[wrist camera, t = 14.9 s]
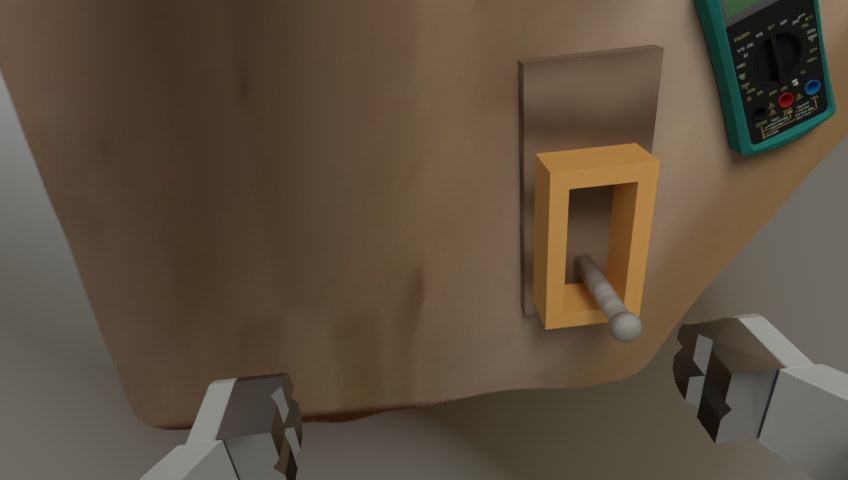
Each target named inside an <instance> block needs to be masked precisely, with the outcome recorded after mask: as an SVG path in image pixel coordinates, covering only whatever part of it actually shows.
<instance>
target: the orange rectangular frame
mask: <svg viewBox="0 0 848 480" xmlns="http://www.w3.org/2000/svg"><path fill="white" fill-rule="evenodd" d="M659 167H660V160H658V159H657V158H656V157H654V156H653V155H652V154H650V153H649V152H648V151H646V150H645V149H643V148H642V147H641V146H639V145H638V144H637V143H631V144H622V145H613V146H603V147H594V148H585V149H576V150H566V151H557V152H548V153H539V154H535V215H534V275H533V302H534V305H535V307H536V309H537V312H538V314H539V316H540V318H541V321H542V323H543V325H544V327H545V330H546V329H555V328H563V327H572V326H581V325H589V324H598V323H606V322H608V320H607V318H606V317H605V315H604V314H603V312H602V310H601V309H600V307H599V306H598V304H597V302H596V301H595V299H594V298H593V296H592V294H591V293H590V291H589V290H588V288H587V286H586V285H585V283H577V284H568V285H564V284H565V264H566V245H567V225H568V205H569V189H576V188H585V187H594V186H603V185H612V184H614V193H613V203H612V214H611V225H610V235H609V246H608V256H607V267H606V277H605V278H606V280H607V281H608V282H609V284H610V285H611V287H612V288H613V290H614V291H615V293H616V294H617V295H618V297H619V298H620V300H621V301H622V303H623V304H624V305H625V307H626V308H627V310H628V311H629V312H631V313H633V314H635V315H636V316H637V317H638V318H639V313H640V306H641V299H642V291H643V284H644V277H645V269H646V262H647V255H648V247H649V240H650V233H651V225H652V218H653V211H654V204H655V196H656V189H657V182H658V174H659Z"/></svg>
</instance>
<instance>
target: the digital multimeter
mask: <svg viewBox="0 0 848 480" xmlns="http://www.w3.org/2000/svg"><path fill="white" fill-rule="evenodd" d="M694 1H695V4H696V8H697V11H698V14H699V18H700V21H701V24H702V27H703V31H704V34H705V37H706V41H707V45H708V49H709V52H710V56H711V60H712V64H713V68H714V72H715V76H716V79H717V84H718V89H719V94H720V99H721V104H722V109H723V114H724V119H725V125H726V130H727V136H728V142H729V147H730V148H731V149H732V150H734V151H736V152H738V153H739V154H741V155H743V156H750V155H754V154H758V153H762V152H766V151H769V150H772V149H775V148H778V147H781V146H783V145H785V144H788V143H790V142H792V141H794V140H796V139H798V138H800V137H801V136H803V135H804V134H806V133H808V132H809V131H811V130H812V129H814V128H815V127H817V126H818V125H820V124H821V123H823V122H824V121H825V120H827V119H828V118H830V117H831V116H832V115H833V114H834V113H835V110H836V107H835V102H834V97H833V92H832V87H831V83H830V78H829V72H828V66H827V60H826V54H825V49H824V43H823V37H822V28H821V20H820V11H819V3H818V0H694ZM726 31H727V33H726ZM797 33H798V34H797ZM727 36H728V37H727ZM800 36H801V37H800ZM728 40H729V42H728ZM729 45H730V46H729ZM730 50H731V51H730ZM804 50H805V51H804ZM731 54H732V55H731ZM732 59H733V60H732ZM733 63H734V65H733ZM734 68H735V69H734ZM735 72H736V74H735ZM736 77H737V78H736ZM737 81H738V83H737ZM758 83H759V84H758ZM738 86H739V87H738ZM739 90H740V92H739ZM740 95H741V96H740ZM741 99H742V101H741ZM745 117H746V119H745ZM746 122H747V123H746ZM747 126H748V128H747ZM748 131H749V132H748ZM749 135H750V136H749ZM750 140H751V141H750Z"/></svg>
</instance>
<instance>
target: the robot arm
mask: <svg viewBox="0 0 848 480" xmlns="http://www.w3.org/2000/svg"><path fill="white" fill-rule="evenodd" d="M677 340H678V341H679V342H680V344H681V345H682V346H683V347H682V348H681V349H680V350H679V351H678V352H677V353H676V354H675V356H674V362H673V373H674V379H675V383H676V385H677V387H678V390H679V392H680V393H681V395H682V396H683V398H684V399H685V401H687V402H689V403H690V404H692V405H694V406H696V407H698V408H699V409H698V415H697V418H698V420H699V421H700V423H701V424H702V426H703V427H704V428H705V430H706V431H707V433H708V434H709V436H710V437H711V439H712V440H713V441H714V443H715V444H718V443H728V442H738V441H747V440H758V439H759V441H758V442H760V443H761V444H763V445H764V446H766V447H767V448H769V449H770V450H772V451H773V452H774V453H776V454H777V455H779V456H780V457H782V458H784V459H785V460H786V461H788V462H789V463H791V464H792V465H794V466H795V467H797V468H798V469H800V470H801V471H803V472H804V473H806V474H807V475H809V476H810V477H812V478H813V479H815V480H848V374H845V373H843V372H840V371H838V370H836V369H833V368H831V367H828V366H826V365H823V364H819V365H814V364H813V363H812V362H811V361H810V360H809V359H808V358H807V357H806V356H805V355H803V354H802V353H801V352H800V351H799V350H798V349H797V348H796V347H795V346H794V345H793V344H792V343H791V342H790V341H788V340H787V339H786V338H785V337H784V336H783V335H782V334H781V333H780V332H779V331H778V330H777V329H776V328H775V327H774V326H772V325H771V324H770V323H769V322H768V321H767V320H766V319H765V318H764V317H763V316H761V315H759V314H756V313H753V314H746V315H740V316H732V317H730V318H721V319H713V320H706V321H698V322H691V323H683V324H682V325H681V327H680V328H679V331H678V337H677ZM292 393H293V384H292V381H291V378H290V375H289V374H287V373H279V374H269V375H259V376H249V377H239V378H234V379H224V380H214V381H213V382H212V383H211V384H210V385H209V387H208V389H207V392H206V394H205V397H204V399H203V402H202V404H201V407H200V409H199V412H198V414H197V417H196V419H195V422H194V424H193V427H192V429H191V432H190V434H189V437H188V439H187V442H186V444H185V445H178V446H177V447H176V448H174V449H173V450H172V451H171V452H170V453H169V454H168V455H167V456H165V457H164V458H163V459H162V460H161V461H160V462H159V463H158V464H156V465H155V466H154V467H153V468H152V469H151V470H149V471H148V472H147V473H146V474H145V475H144V476H143V477H142V478H140V479H139V480H296V475H297V465H296V462H295V459H294V456H295V455H296V454H297V453H298V452H299V451H300V450H301V442H302V418H301V411H300V408H299V404H298V402H296V401H295V400H293V399H292Z"/></svg>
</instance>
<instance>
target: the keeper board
mask: <svg viewBox="0 0 848 480" xmlns="http://www.w3.org/2000/svg"><path fill="white" fill-rule="evenodd" d="M663 49H664V48H662V47H659V46H656V45H648V46H639V47H631V48H622V49H613V50H605V51H596V52H588V53H579V54H570V55H562V56H553V57H544V58H536V59H527V60H519V147H520V242H521V307H522V309H523V312H524V314H525V316H528V315H536V314H538V312H537V309H536V307H535V305H534V302H533V275H534V215H535V154H539V153H548V152H557V151H566V150H576V149H585V148H594V147H603V146H613V145H622V144H631V143H637V144H638V145H639V146H641V147H642V148H643V149H645V150H646V151H648V152H649V153H650V154H651V153H652V145H653V136H654V127H655V119H656V110H657V101H658V93H659V84H660V75H661V67H662V58H663ZM613 193H614V184H612V185H603V186H594V187H585V188H576V189H569V205H568V225H567V245H566V264H565V284H564V285H568V284H577V283H585V285H586V286H587V288H588V290H589V291H590V293H591V294H592V296H593V298H594V299H595V301H596V302H597V304H598V306H599V307H600V309H601V310H602V312H603V314H604V315H605V317H606V318H607V320H608V322H609V330H610V333H611V335H612V336H613V337H614V338H615V339H616V340H618V341H620V342H625V343H627V342H632V341H634V340H636V339H637V338H638V337H639V336H640V334H641V332H642V324H641V321H640V319H639V318H638V317H637V316H636V315H635V314H633V313H631V312H629V311H628V310H627V308H626V307H625V305H624V304H623V303H622V301H621V300H620V298H619V297H618V295H617V294H616V293H615V291H614V290H613V288H612V287H611V285H610V284H609V282H608V281H607V280H606V278H605V277H606V267H607V256H608V246H609V235H610V225H611V214H612V203H613Z"/></svg>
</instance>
